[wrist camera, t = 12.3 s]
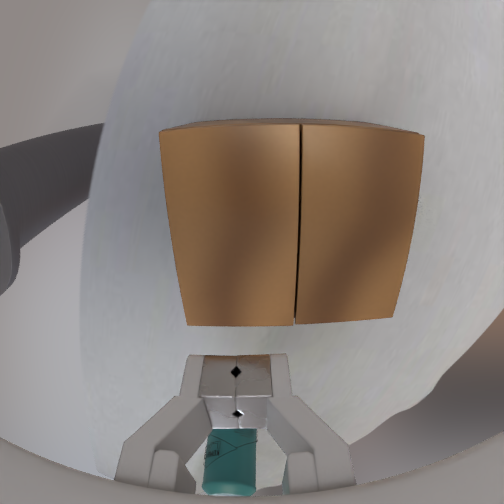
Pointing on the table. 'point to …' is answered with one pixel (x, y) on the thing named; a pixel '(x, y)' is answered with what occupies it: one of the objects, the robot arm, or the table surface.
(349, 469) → the robot arm
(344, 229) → the carton
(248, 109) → the table surface
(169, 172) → the flap
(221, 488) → the beverage bottle
